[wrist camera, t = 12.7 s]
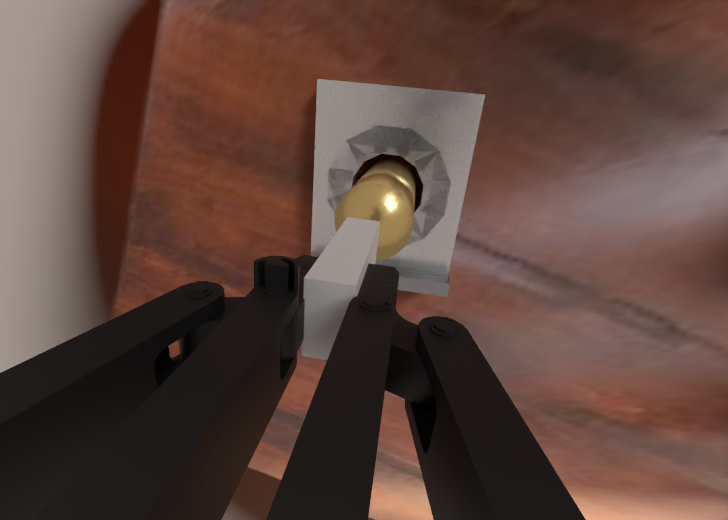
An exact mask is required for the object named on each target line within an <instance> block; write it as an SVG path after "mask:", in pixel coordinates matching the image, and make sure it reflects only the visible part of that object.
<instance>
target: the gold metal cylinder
mask: <svg viewBox="0 0 728 520" xmlns="http://www.w3.org/2000/svg"><path fill="white" fill-rule="evenodd" d="M415 191H416V181H415V177H414V175H413V172H412V171H411V169H410V168H409V167H408V166H407V165H406V164H404V163H402V162H400V161H398V160H393V159H386V160H382V161H379V162H377V163H376V164H374V165H373V166H372V167H371V168H370V169H369V170H368V171H367V172H366V173H365V174H364V175H363V176H362V177H361V178H360V179H359V181H358V182H357V183H356V184H355V185H354V186H353V187H352V188H351V189H350V190H349V191H348V192H347V193H346V194H345V195H344V196H343V198H342V199H341V200H340V202H339V204H338V206H337V208H336V212H335V229H336V232H337V231H338V230H339V228H340V227H341V225H342V224H343V223H344V221H345V220H346V218H347V217H350V218H358V219H365V220H373V221H380V227H379V235H378V244H377V253H376V260H381V259H386V258H389V257H391V256H394V255H395V254H397V253H398V252H400V251H401V250H402V249H403V248H404V247H405V245H406V244H407V243H408V241H409V239H410V237H411V234H412V230H413V220H414V206H415Z"/></svg>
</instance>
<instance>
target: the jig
mask: <svg viewBox="0 0 728 520" xmlns="http://www.w3.org/2000/svg"><path fill="white" fill-rule="evenodd" d="M484 99H485V95H484V94H474V93H463V92H452V91H442V90H431V89H420V88H410V87H399V86H388V85H378V84H367V83H356V82H346V81H335V80H324V79H317V99H316V126H315V153H314V180H313V207H312V235H311V254H310V255H309V256H314V257H319V256H320V255H321V253H322V252H323V251H324V249H325V248H326V246H327V245H328V244H329V242H330V241H331V239H332V238H333V237H334V235H335V234H336V229H335V212H336V208H337V206H338V204H339V202H340V200H341V199H342V198H343V196H344V195H345V194H346V193H347V192H348V191H349V190H350V189H351V188H352V187H353V186H354V185H355V184H356V181H357V173H358V172H359V170H360V169H361V167H362V166H363V164H364V163H365V162H366V161H367V160H369V159H371V158H373V157H375V156H377V155H380V154H389V155H397V156H402V157H403V158H404V159H406V160H407V161H408V162H409V163H411V164H412V165H413V166H415V167H416V168H417V170H418V173H419V175H420V178H421V181H422V183H423V188H422V194H421V200H420V201H419V202H418V203H417V205H416V206H415V207H414V220H413V230H412V234H411V237H410V239H409V241H408V243H407V244H406V245H405V247H404V248H403V249H402V250H401V251H400V252H398V253H397V254H395V255H394V256H391V257H389V258H386V259H381V260H376V261H375V264H377V265H384V266H391V267H395V268H396V269H397V271H398V272H399V273H400V274H399V282H398V290H402V291H409V292H415V293H422V294H429V295H435V296H442V297H448V292H449V287H450V281H449V275H448V273H449V268H450V263H451V258H452V254H453V249H454V244H455V239H456V234H457V229H458V224H459V220H460V215H461V210H462V205H463V200H464V195H465V191H466V186H467V181H468V176H469V171H470V166H471V162H472V157H473V152H474V147H475V142H476V137H477V132H478V128H479V123H480V118H481V113H482V108H483V103H484Z"/></svg>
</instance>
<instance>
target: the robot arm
mask: <svg viewBox="0 0 728 520" xmlns="http://www.w3.org/2000/svg"><path fill="white" fill-rule="evenodd" d="M379 227H380V221H373V220H365V219H358V218H350V217H347V218H346V220H345V221H344V223H343V224H342V225H341V227H340V228H339V230H338V231H337V232H336V234H335V235H334V237H333V238H332V239H331V241H330V242H329V244H328V245H327V246H326V248H325V249H324V251H323V252H322V253H321V255H320V256H319V257H314V256H307V255H303V256H300V257H298V258H296V259H292V258H288V257H284V256H269V257H264V258H260V259H258V260H256V261H254V288H253V289H252V290H251V291H250V293H249V294H248V295H247V296H246V297H225V295H224V289H223V287H222V286H221V285H219V284H217V283H213V282H208V281H204V282H203V281H197V282H195V283H189V284H186V285H183V286H181V287H179V288H177V289H174V290H172V291H170V292H168V293H166V294H164V295H162V296H160V297H158V298H156V299H154V300H152V301H149V302H147V303H145V304H143V305H141V306H139V307H137V308H135V309H133V310H131V311H129V312H127V313H124V314H122V315H120V316H118V317H116V318H114V319H112V320H110V321H108V322H106V323H104V324H102V325H100V326H97V327H95V328H93V329H91V330H89V331H87V332H85V333H83V334H81V335H79V336H77V337H74V338H72V339H71V340H68V341H66V342H64V343H62V344H60V345H58V346H56V347H54V348H52V349H49V350H47V351H45V352H43V353H41V354H39V355H37V356H35V357H33V358H31V359H29V360H27V361H24V362H22V363H20V364H18V365H16V366H14V367H12V368H10V369H8V370H6V371H4V372H2V373H0V520H221V519H222V517H223V515H224V513H225V511H226V509H227V507H228V505H229V503H230V501H231V499H232V497H233V495H234V493H235V491H236V489H237V487H238V485H239V483H240V481H241V478H242V476H243V474H244V472H245V470H246V468H247V466H248V464H249V462H250V460H251V458H252V456H253V454H254V452H255V450H256V448H257V446H258V444H259V442H260V440H261V438H262V436H263V433H264V431H265V429H266V427H267V425H268V423H269V421H270V419H271V417H272V415H273V413H274V411H275V409H276V407H277V405H278V403H279V401H280V399H281V397H282V395H283V393H284V390H285V388H286V386H287V384H288V382H289V380H290V378H291V376H292V374H293V372H294V370H295V368H296V365H297V351H298V349H299V347H300V345H301V343H302V356H304V357H310V358H316V359H322V360H327V362H326V365H325V367H324V370H323V373H322V375H321V378H320V381H319V383H318V386H317V388H316V391H315V394H314V396H313V399H312V401H311V404H310V407H309V409H308V412H307V415H306V417H305V420H304V422H303V425H302V428H301V430H300V433H299V435H298V438H297V441H296V443H295V446H294V448H293V451H292V454H291V456H290V459H289V462H288V464H287V467H286V469H285V472H284V475H283V477H282V480H281V483H280V485H279V488H278V490H277V493H276V495H275V498H274V501H273V503H272V506H271V509H270V511H269V514H268V516H267V519H266V520H368V514H369V507H370V499H371V491H372V484H373V476H374V468H375V461H376V453H377V446H378V438H379V430H380V423H381V415H382V407H383V400H384V392H385V390H386V391H389V392H391V393H393V394H395V395H397V396H400V397H402V398H404V399H405V409H406V413H407V417H408V421H409V424H410V428H411V432H412V436H413V440H414V444H415V448H416V452H417V456H418V460H419V464H420V468H421V472H422V476H423V479H424V483H425V487H426V491H427V495H428V499H429V503H430V507H431V511H432V515H433V519H434V520H585V518H584V516H583V515H582V513H581V512H580V510H579V508H578V507H577V505H576V503H575V502H574V500H573V499H572V497H571V495H570V494H569V492H568V491H567V489H566V487H565V486H564V484H563V483H562V481H561V479H560V478H559V476H558V475H557V473H556V471H555V470H554V468H553V467H552V465H551V463H550V462H549V460H548V458H547V457H546V455H545V454H544V452H543V450H542V449H541V447H540V446H539V444H538V442H537V441H536V439H535V438H534V436H533V434H532V433H531V431H530V430H529V428H528V426H527V425H526V423H525V422H524V420H523V418H522V417H521V415H520V413H519V412H518V410H517V409H516V407H515V405H514V404H513V402H512V401H511V399H510V397H509V396H508V394H507V393H506V391H505V389H504V388H503V386H502V385H501V383H500V381H499V380H498V378H497V377H496V375H495V373H494V372H493V370H492V368H491V367H490V365H489V364H488V362H487V360H486V359H485V357H484V356H483V354H482V352H481V351H480V349H479V348H478V346H477V344H476V343H475V341H474V340H473V338H472V336H471V335H470V333H469V332H468V330H467V329H466V328H465V327H464V326H463V325H462V324H460V323H458V322H457V321H455V320H453V319H449V318H447V317H439V316H434V317H427V318H425V319H422V320H421V321H420V323H419V325H416V324H413V323H411V322H409V321H407V320H405V319H404V318H402V317H401V316H400V315H399V314H398V313H397V311H396V307H395V306H396V298H397V290H398V282H399V274H400V273H399V272H398V271H397V269H396V268H395V267H391V266H384V265H377V264H375V261H376V253H377V244H378V235H379ZM177 340H178V342H179V349H180V354H179V355H177V356H176V357H174V358H170V355H169V348H168V346H169V345H170V344H172V343H174V342H175V341H177Z"/></svg>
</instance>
